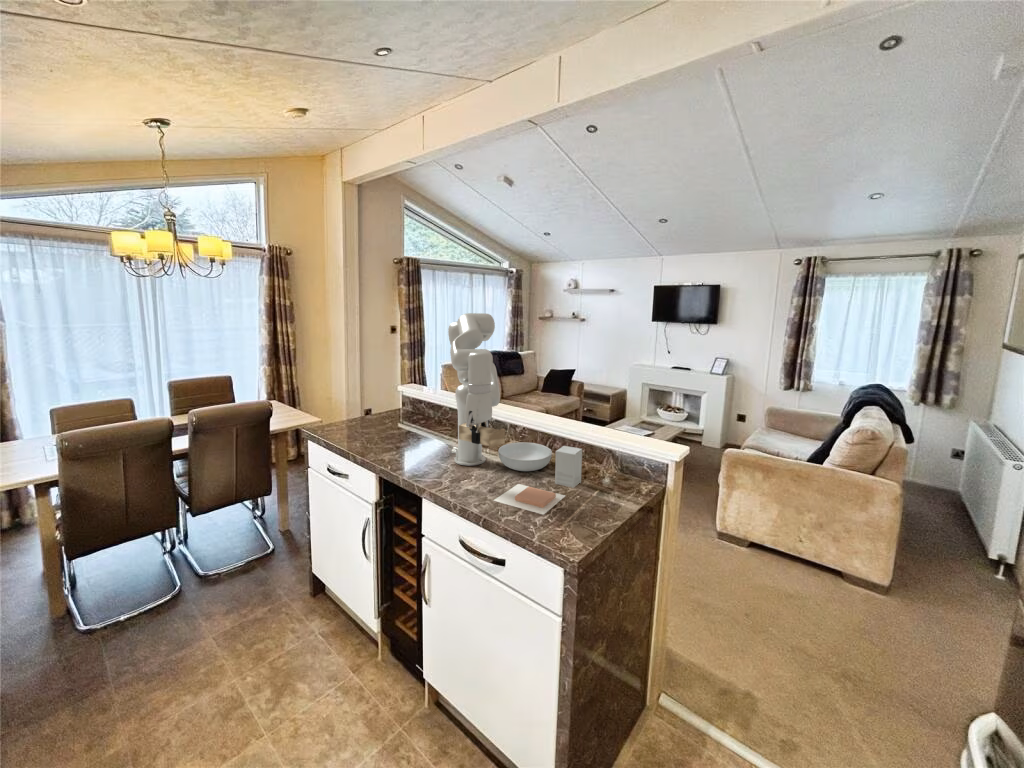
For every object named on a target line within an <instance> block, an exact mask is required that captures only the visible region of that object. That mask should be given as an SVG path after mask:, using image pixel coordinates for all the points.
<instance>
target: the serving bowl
mask: <svg viewBox="0 0 1024 768" xmlns="http://www.w3.org/2000/svg"><path fill="white" fill-rule="evenodd" d="M497 454H498V457H499V460H500V462H501V463H502V464H503V465H504V466H505V467H507V468H508V469H510V470H513V471H514V470H515V471H519V472H533V471H538V470H541V469H543V468H545V467H546V466H547V465H548V464H549V463H550V460H551V459H552V456H553V451H552V449H551V448H549V447H548V446H546V445H543V444H540V443H534V442H523V441H521V442H511V443H506V444H502V446H501V445H500V446H499V448H498V451H497Z"/></svg>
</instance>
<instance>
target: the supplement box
mask: <svg viewBox="0 0 1024 768" xmlns="http://www.w3.org/2000/svg"><path fill="white" fill-rule="evenodd" d="M582 462H583V448H579V447H573V446H566V445H563V446H561V447H560V448H558V449H557V450H555V469H554V470H555V472H554V473H555V474H554V476H555V477H554V478H555V479H554V484H556V485H560V486H563V487H564V486H565V487H568V488H573V489H574V488H575V487H576V486H578V484H579V483H580V484H582V466H583V465H582ZM580 484H579V485H580Z"/></svg>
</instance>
